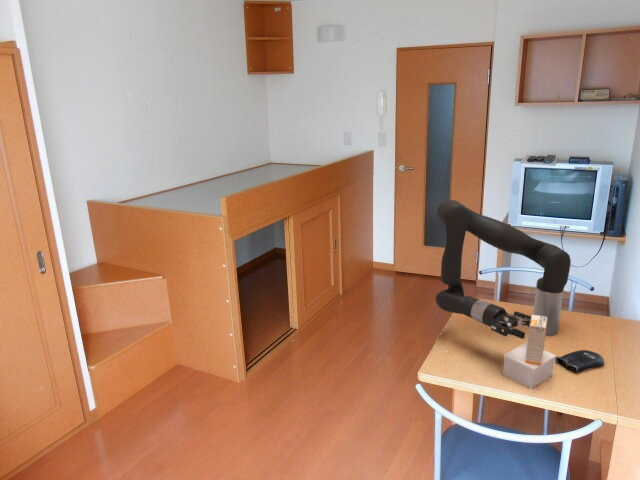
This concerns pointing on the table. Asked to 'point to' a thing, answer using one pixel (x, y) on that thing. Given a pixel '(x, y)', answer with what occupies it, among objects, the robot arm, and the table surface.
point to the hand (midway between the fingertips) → (532, 331)
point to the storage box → (527, 367)
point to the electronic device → (581, 360)
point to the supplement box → (536, 339)
